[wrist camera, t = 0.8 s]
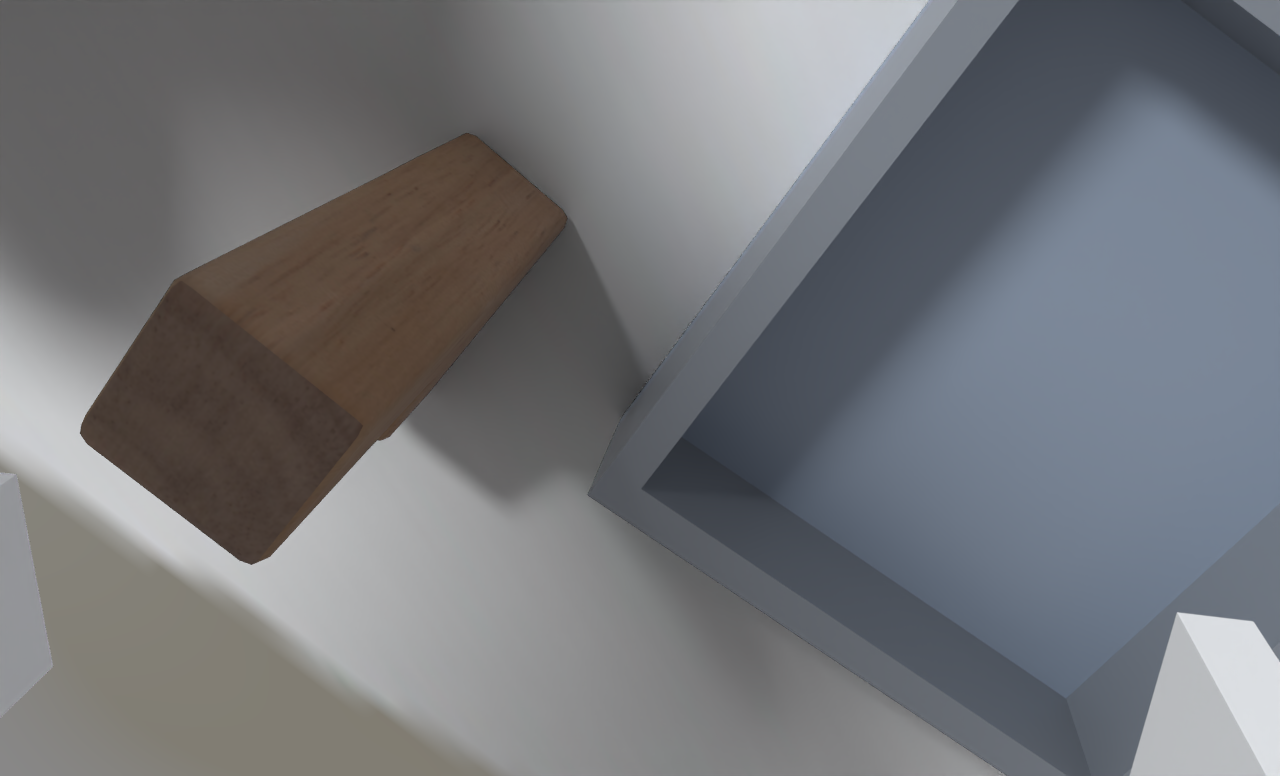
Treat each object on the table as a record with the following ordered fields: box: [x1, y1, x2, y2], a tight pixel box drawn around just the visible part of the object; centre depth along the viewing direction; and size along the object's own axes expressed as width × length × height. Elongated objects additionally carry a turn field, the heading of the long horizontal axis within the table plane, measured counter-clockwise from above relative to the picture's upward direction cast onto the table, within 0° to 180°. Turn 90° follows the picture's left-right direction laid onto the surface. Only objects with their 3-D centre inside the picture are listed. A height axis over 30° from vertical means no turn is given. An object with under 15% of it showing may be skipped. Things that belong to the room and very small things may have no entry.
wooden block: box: [80, 133, 567, 565], centre depth 30 cm, size 9×4×18 cm, turn 140°
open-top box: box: [588, 0, 1280, 776], centre depth 33 cm, size 20×22×6 cm
